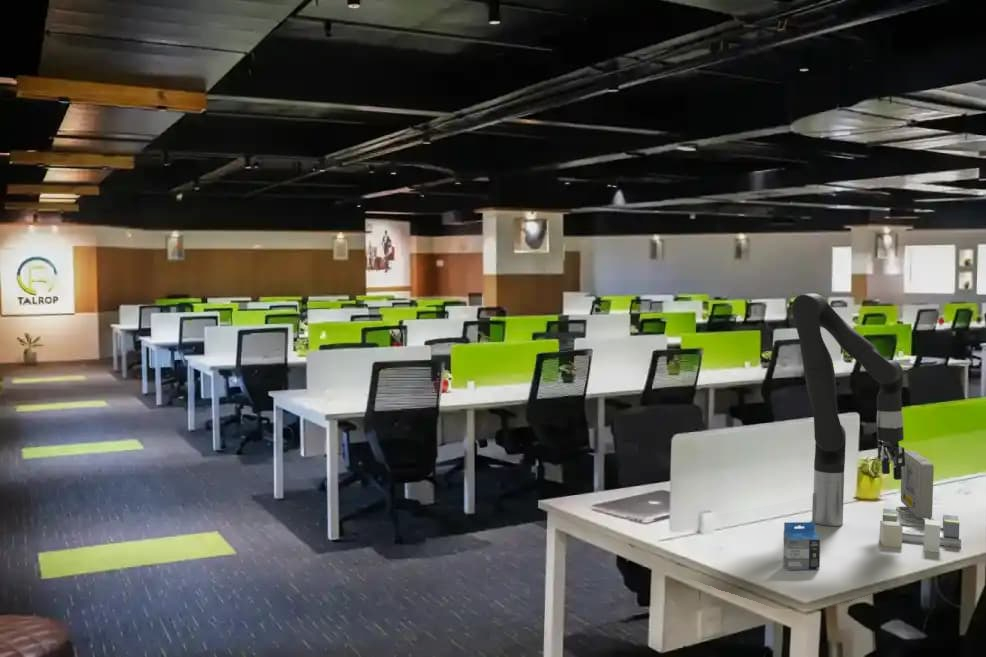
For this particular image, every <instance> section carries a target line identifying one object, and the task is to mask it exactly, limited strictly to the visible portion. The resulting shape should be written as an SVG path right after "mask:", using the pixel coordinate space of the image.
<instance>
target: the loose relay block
mask: <svg viewBox="0 0 986 657" xmlns="http://www.w3.org/2000/svg"><path fill="white" fill-rule="evenodd" d="M879 523H880V525H879V541H880V543H881V544H882V546H883V547H886V546H890V548H899V547H902V548H903V541H902V526H901V525H900V524H899V523H900V522H899V521H897V522H892V521H883V520H880V522H879Z"/></svg>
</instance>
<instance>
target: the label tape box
mask: <svg viewBox="0 0 986 657" xmlns="http://www.w3.org/2000/svg"><path fill="white" fill-rule="evenodd" d="M783 524H784V525H783V527H784V528H783V551H782V552H783V557H782V558H783V559H782V560H783V562H782V563H783V565H782V566H783V567H784V568H785V569H786V570H787V571H801V570H802V571H804V570H806V571H807V570H808V571H809V570H810V571H814V570H817V571H818V570H819V571H820V566H821V565H820V564H821V562H820V561H821V558H820V556H821V555H820V554H821V553H820V552H821V539H820V538H819V536H818V534H817V532H816V531H815V530H816V523H815V522H812V521H810V522H805V521H803V522H798V521H797V522H791V521H789V522H784V523H783ZM799 526H800V527H804V528H797V527H799Z"/></svg>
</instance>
